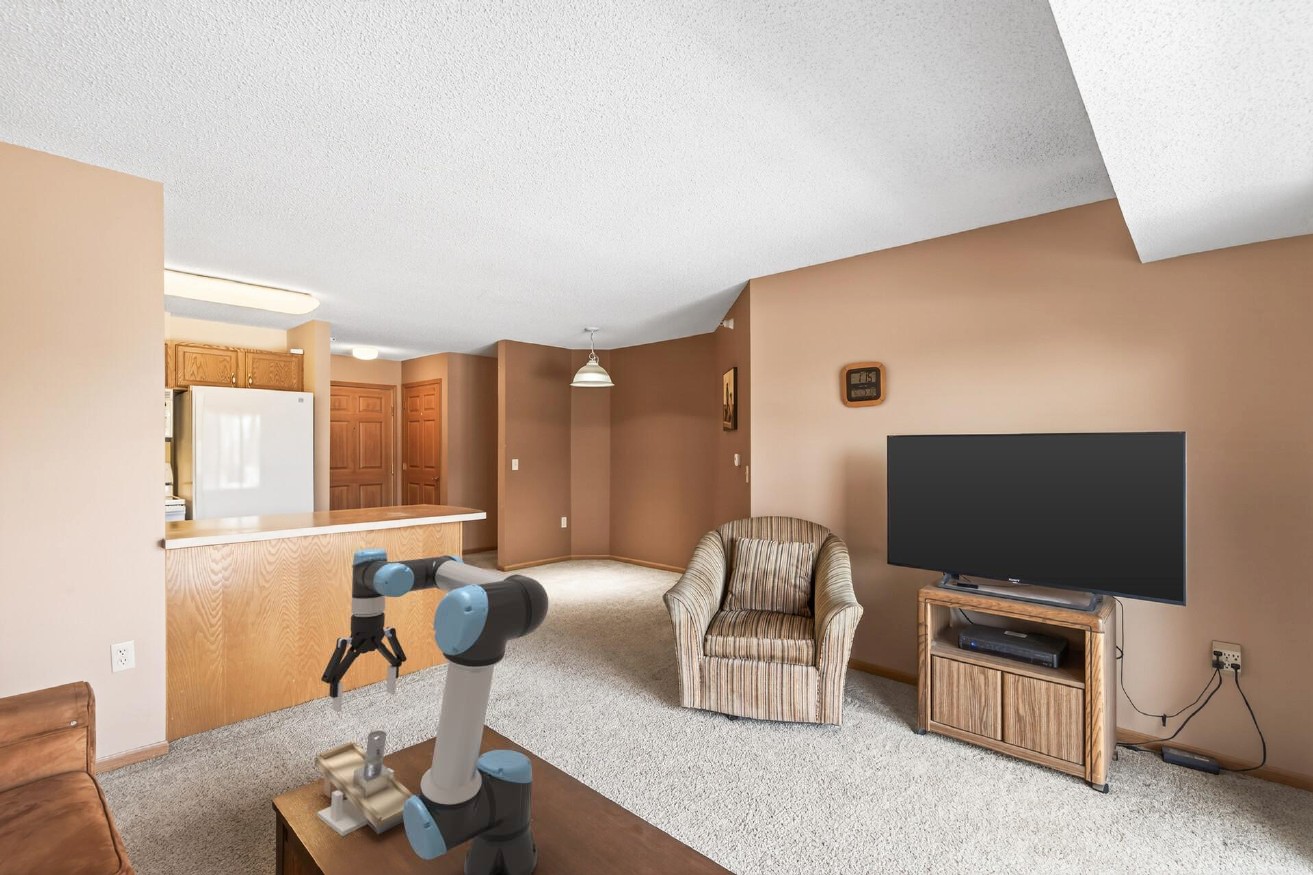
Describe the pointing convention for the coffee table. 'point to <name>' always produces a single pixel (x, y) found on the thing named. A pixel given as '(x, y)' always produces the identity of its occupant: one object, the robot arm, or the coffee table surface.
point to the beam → (376, 808)
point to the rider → (372, 767)
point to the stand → (341, 811)
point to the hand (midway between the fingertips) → (364, 701)
